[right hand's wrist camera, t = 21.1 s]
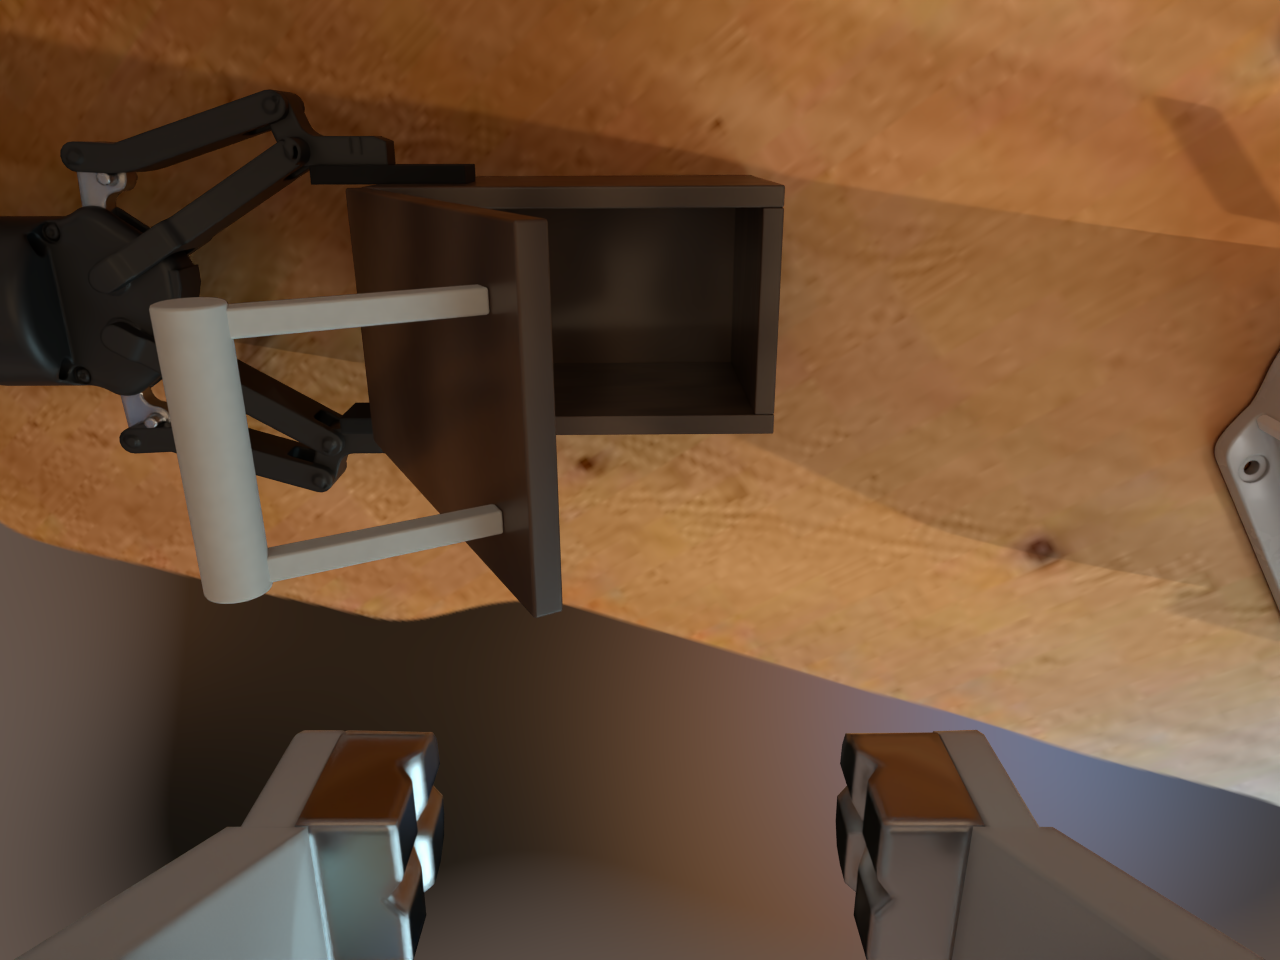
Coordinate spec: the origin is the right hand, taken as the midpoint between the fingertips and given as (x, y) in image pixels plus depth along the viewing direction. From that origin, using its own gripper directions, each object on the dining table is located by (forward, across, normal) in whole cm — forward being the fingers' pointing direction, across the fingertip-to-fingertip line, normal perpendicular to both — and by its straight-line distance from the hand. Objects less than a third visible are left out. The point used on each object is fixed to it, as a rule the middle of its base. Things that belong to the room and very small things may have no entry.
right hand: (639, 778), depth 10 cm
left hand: (+33, +7, 0) cm, 34 cm away
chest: (+40, +3, 0) cm, 40 cm away
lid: (+21, +6, 0) cm, 22 cm away
